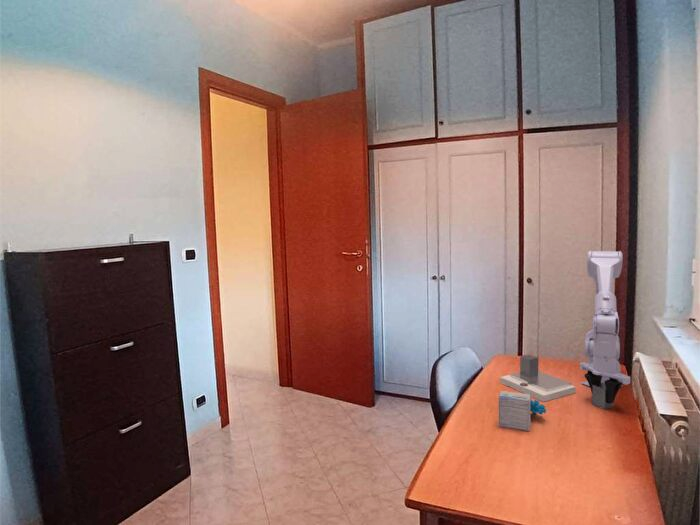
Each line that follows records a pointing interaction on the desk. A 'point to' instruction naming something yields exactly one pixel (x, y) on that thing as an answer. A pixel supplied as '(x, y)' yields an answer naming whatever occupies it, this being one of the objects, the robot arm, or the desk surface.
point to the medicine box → (514, 410)
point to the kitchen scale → (539, 385)
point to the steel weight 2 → (600, 396)
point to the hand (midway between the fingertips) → (602, 400)
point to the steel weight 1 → (529, 365)
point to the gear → (537, 407)
